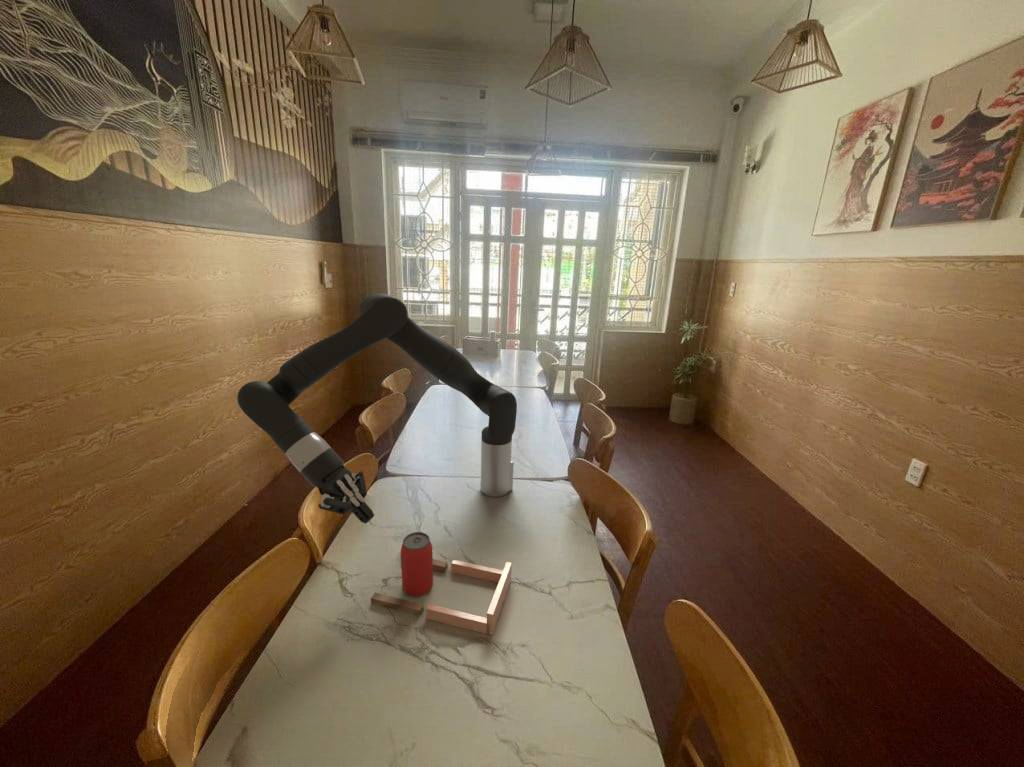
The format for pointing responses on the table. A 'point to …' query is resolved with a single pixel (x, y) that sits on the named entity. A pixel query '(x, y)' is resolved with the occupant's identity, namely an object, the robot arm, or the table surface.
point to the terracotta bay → (494, 609)
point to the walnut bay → (401, 603)
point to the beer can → (417, 564)
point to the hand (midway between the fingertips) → (370, 519)
